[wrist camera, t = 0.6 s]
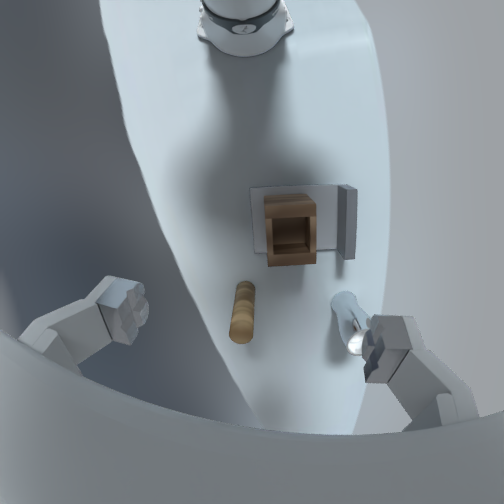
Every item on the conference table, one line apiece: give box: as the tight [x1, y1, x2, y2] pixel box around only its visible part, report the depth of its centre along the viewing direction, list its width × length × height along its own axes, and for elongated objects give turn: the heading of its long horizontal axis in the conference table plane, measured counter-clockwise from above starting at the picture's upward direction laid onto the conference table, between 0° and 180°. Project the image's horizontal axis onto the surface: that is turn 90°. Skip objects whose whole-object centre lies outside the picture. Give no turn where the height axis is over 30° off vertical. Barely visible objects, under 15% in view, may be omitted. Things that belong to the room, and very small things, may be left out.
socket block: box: [264, 194, 317, 267], centre depth 48 cm, size 10×8×10 cm
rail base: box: [250, 184, 357, 260], centre depth 50 cm, size 13×19×7 cm
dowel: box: [229, 281, 255, 344], centre depth 52 cm, size 4×4×16 cm
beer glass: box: [331, 291, 371, 356], centre depth 53 cm, size 7×7×15 cm
